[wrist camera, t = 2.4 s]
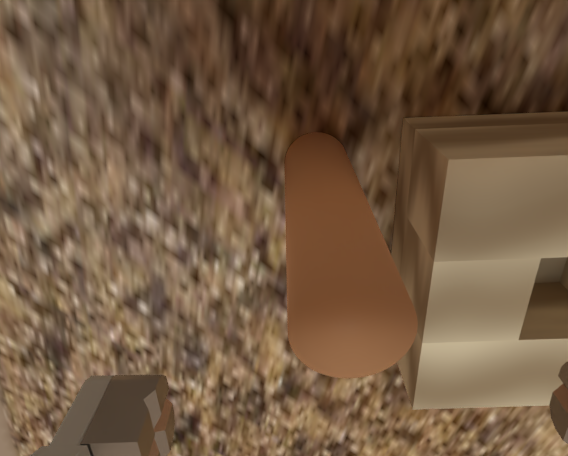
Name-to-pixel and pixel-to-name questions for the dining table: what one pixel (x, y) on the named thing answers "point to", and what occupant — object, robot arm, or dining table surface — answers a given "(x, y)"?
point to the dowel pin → (339, 268)
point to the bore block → (484, 257)
